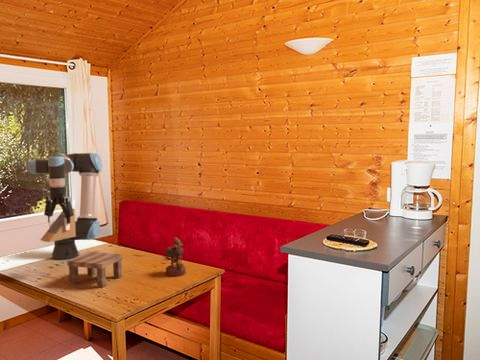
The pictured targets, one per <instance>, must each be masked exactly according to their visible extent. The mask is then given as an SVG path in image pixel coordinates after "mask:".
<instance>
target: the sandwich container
mask: <svg viewBox="0 0 480 360" xmlns="http://www.w3.org/2000/svg"><path fill="white" fill-rule="evenodd" d="M72 210H73V214H74V216H71V217H70V229H69V230H65V219H64V218H65V217H66V216H65V214H64V212H63V210H61V212H60V214H59V215H58V217H56V219H54V223H53V224H52V226H51V227H50V228H48V230H47V231H46V232H45V233H44V235H42V237H41V238H40V241H42V242H45V243H53V242H54V241H57V240H62V239H66V238H71V237H75V236H76V231H75V221H76V211H75V208H72Z"/></svg>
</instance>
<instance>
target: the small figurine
mask: <svg viewBox="0 0 480 360" xmlns="http://www.w3.org/2000/svg"><path fill="white" fill-rule="evenodd" d="M172 240H173V243H174V245H171V246H168V247H167V248H166V249H165V254H166V255H167V256H164V255H163V258H165V259H166V260H169V261H171V262H170V265H168V266H166V268H165V275H166V277H171V278H176V277H178V278H179V277H182V276H184V275H186V274H187V273H186V271H187V270H186V268H187V267H186V266H184V263H183V262H182V261H181V260H183V257H182V255H183V254H184V248H183V247H182V246H184V245H185V244H183V242H182V241H181V239H179V238H178V237H174V238H173V239H172Z"/></svg>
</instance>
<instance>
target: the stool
mask: <svg viewBox="0 0 480 360" xmlns="http://www.w3.org/2000/svg"><path fill="white" fill-rule="evenodd" d="M123 257H124V256H123V254H121V253H111V252H110V253H109V252H97V251H88V252H86V253H83V254H81V255H78V256H77V257H75V258H71V259H67V260H66V264H67V265H66V266H68V274H69V275H68V276H69V277H68V279H69V285H73V286H75V285H77V284H79V283H80V281H79V268H84V269H85V268H86V270H87V271H86V272H87V276H88V275H89V276H91V277H93V276H95V275H96V287H97V288H101V289H103V288H106V286H107V278H106V277H107V276H106V275H107V274H106V271H107V270H106V268H107V267H109V266H111V265H112V266H113V270H112V271H113V272H112V273H113V279H116V280H117V279H121V278H122V277H123V273H122V272H123V270H122V268H123V267H122V259H123ZM89 276H88V277H89Z"/></svg>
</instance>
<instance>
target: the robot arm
mask: <svg viewBox="0 0 480 360" xmlns="http://www.w3.org/2000/svg"><path fill="white" fill-rule="evenodd" d="M102 162H103V161H102V158H101V156H100V155H99V154H98V153H93V152H85V153H83V152H81V153H80V152H79V153H78V152H77V153H76V152H75V153H74V152H73V153H68V154H64V155H58V156H49V157H48V158H43V159H30V160H29V161H28V162H27V171H28V173H30V174H31V175H38V174H41V175H44V174H48V178H49V179H48V182H49V195H50V196H45V206H44V213H43V214H44V216H47V222H48V226H49V228H50V227H51V226H52V224H53V223H54V222H55V216H54V212H55V210H56V207H57V205H58V206H60V208H61V211H63V212H64V214H65V216H66V217H65V218H64V219H65V230H69V229H70V217H71V216H74V214H73V210H72V209H73V206H72V200H71V197H70V196H69V197H66V189H67V188H66V174H69V173H71V172H72V173H75V172H76V173H78V175H79V176H80V177H81V181H80V202H79V203H80V207H79V216H77V219H76V220H75V231H76V236H75V237H71V238H66V239H62V240H57V241H53V242H54V245H53V246H54V247H53V250H52V253H51V259H53V260H57V261H58V260H59V261H60V260H63V261H64V260H71V259H73V258H76V257H78V256H80V255H79V254H80V253H79V250H78V247H77V245H76V241H82V240H84V241H90V240H91V241H92V240H95V239H97V238H98V237H99V234H100V231H101V223H100V222H101V221H100V220H98V217H97V216H96V214H95V213H96V212H95V211H96V189H97V188H96V183H97V177H98V176H99V174H100V172H102V170H103V163H102ZM49 228H48V229H49Z"/></svg>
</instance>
